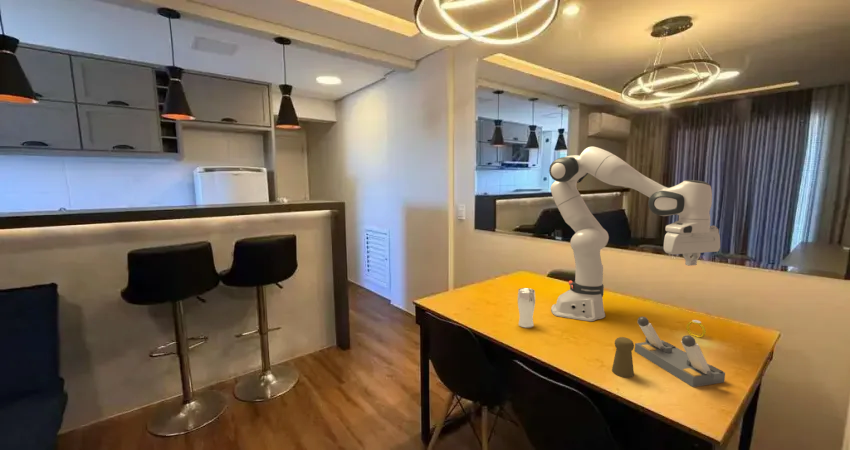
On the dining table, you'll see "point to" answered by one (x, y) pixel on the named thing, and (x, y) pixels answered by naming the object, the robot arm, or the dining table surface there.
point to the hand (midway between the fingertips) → (690, 265)
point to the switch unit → (678, 364)
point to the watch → (698, 324)
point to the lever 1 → (650, 333)
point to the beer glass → (526, 307)
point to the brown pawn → (623, 358)
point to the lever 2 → (695, 354)
